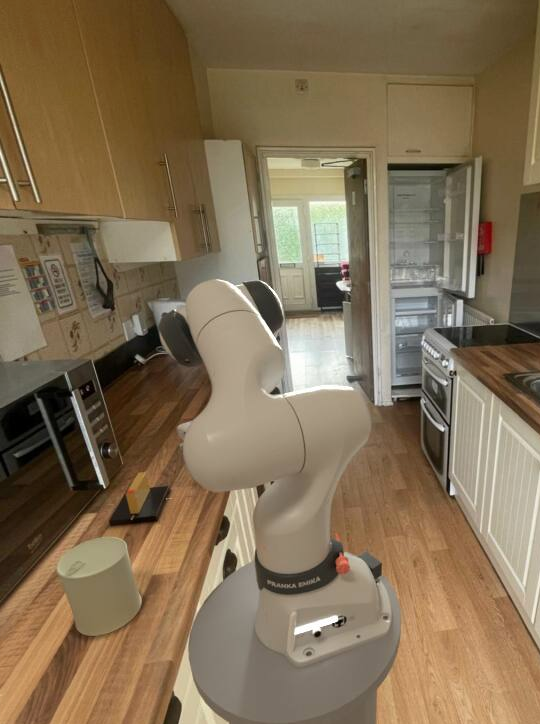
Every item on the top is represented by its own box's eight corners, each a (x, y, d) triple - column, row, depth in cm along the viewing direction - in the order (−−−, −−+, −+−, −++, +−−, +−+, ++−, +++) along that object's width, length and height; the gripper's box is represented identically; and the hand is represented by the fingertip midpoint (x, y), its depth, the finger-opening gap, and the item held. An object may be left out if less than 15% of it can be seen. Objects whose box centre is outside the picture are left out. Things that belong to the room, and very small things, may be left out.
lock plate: (119, 494, 100) (117, 488, 99) (179, 488, 103) (178, 482, 102) (98, 529, 88) (96, 523, 88) (167, 522, 91) (165, 515, 90)
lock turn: (142, 491, 99) (138, 471, 97) (150, 490, 99) (145, 470, 97) (130, 514, 91) (125, 493, 89) (138, 513, 91) (133, 492, 89)
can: (61, 628, 66) (38, 568, 62) (110, 585, 75) (94, 529, 70) (108, 643, 64) (89, 581, 60) (154, 597, 72) (140, 540, 68)
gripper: (203, 409, 118) (155, 427, 107) (255, 427, 108) (209, 448, 97) (206, 430, 120) (160, 449, 110) (257, 449, 111) (212, 472, 100)
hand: (183, 449), depth 103 cm, fingers closed
